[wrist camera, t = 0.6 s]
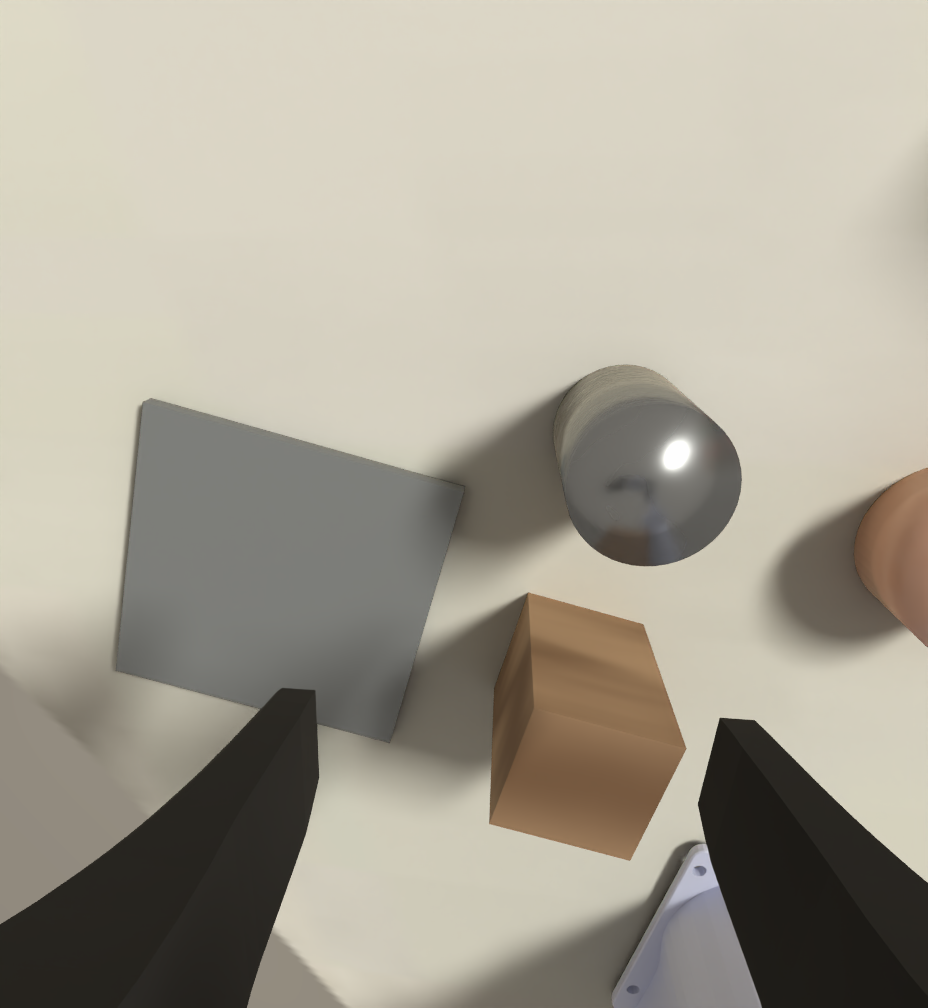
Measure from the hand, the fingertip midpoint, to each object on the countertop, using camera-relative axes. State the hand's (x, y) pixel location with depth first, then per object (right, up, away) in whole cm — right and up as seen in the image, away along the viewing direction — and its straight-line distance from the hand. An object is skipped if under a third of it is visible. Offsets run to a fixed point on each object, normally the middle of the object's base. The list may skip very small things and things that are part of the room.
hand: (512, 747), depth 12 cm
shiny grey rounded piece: (+4, +7, +8) cm, 11 cm away
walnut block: (+3, -1, +11) cm, 12 cm away
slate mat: (-7, +2, +11) cm, 13 cm away
